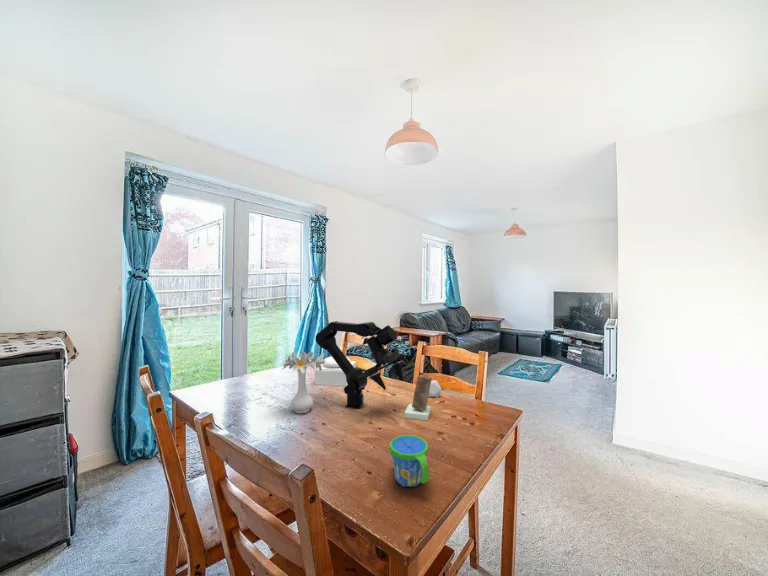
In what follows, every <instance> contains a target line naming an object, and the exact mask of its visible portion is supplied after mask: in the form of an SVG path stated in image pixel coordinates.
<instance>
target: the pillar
mask: <svg viewBox="0 0 768 576" xmlns="http://www.w3.org/2000/svg"><path fill="white" fill-rule="evenodd" d="M416 377H417V378H416V383H415V389H414V394H413V400H412V403H411V404H412V407H413V408H416V409H419V410H421V411H423V410H424V409H426V407H427V406H428V400H429V397H428V396H429V390H430V385H431V380H432V379H433V378H432V377H429V376H427V375H424V374H419V375H417V376H416Z"/></svg>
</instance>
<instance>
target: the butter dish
mask: <svg viewBox="0 0 768 576" xmlns="http://www.w3.org/2000/svg"><path fill="white" fill-rule="evenodd" d="M346 358H347V359H348V360H349V362H350V363H351V364H352V366H353V367H354V368H355V369H356V363H357V361H356V360H355V361H354V360H351V359H350V358H349V357H347V356H346ZM323 360H325V363H324V364H320V365H321V367H322V370H321V371H320V370H319V368H316V367H314V368H315V369H314V385H315V386H328V387H342V386H345V387H346V386H347V385H348V384H347V381H346V375H345V374H344V372H343V371H342V370H341V368H340V367H339V365H338V364H337V363H336V361H335V360H334V359H333V357H332V356H331V355H330V356H329V357H326V358H324V359H323ZM345 387H344V388H345Z"/></svg>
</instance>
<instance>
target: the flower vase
mask: <svg viewBox="0 0 768 576" xmlns="http://www.w3.org/2000/svg"><path fill="white" fill-rule="evenodd" d="M313 356H314V352H313V351H309V352H308V353H306V352H305V351H303V350H302V351H301V354H298V355H296V352H293V351H292V352H291V354H288V358H286V359H285V362H284V363H283V368H282V369H281V371H283V370H284V369H286V368H287V367H288V369H292V370H293V371H296V372H297V376H298V379H297V381H298V382H297V383H298V384H297V392H296V394H295V395H294V397H293V398H292V400H291V401H290V406H291V408H292V409H293V410H294V412H295V413H297V414H306V413H308V412H309V411H310V409H311V408H312V407H313V405H314V399H313V397H312V395H310V394H309V393H308V392H309V391H308V389H307V383H306V382H307V381H306V374H307V369H308V367H311V368H312V369H314V370H315V368H319V370H320V371H321V370H322V367H321V364H324V363H325V360H324V359H323V356H324V354H323V353H320V355H319V356H316V358H315V357H313ZM314 363H315V364H314Z"/></svg>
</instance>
